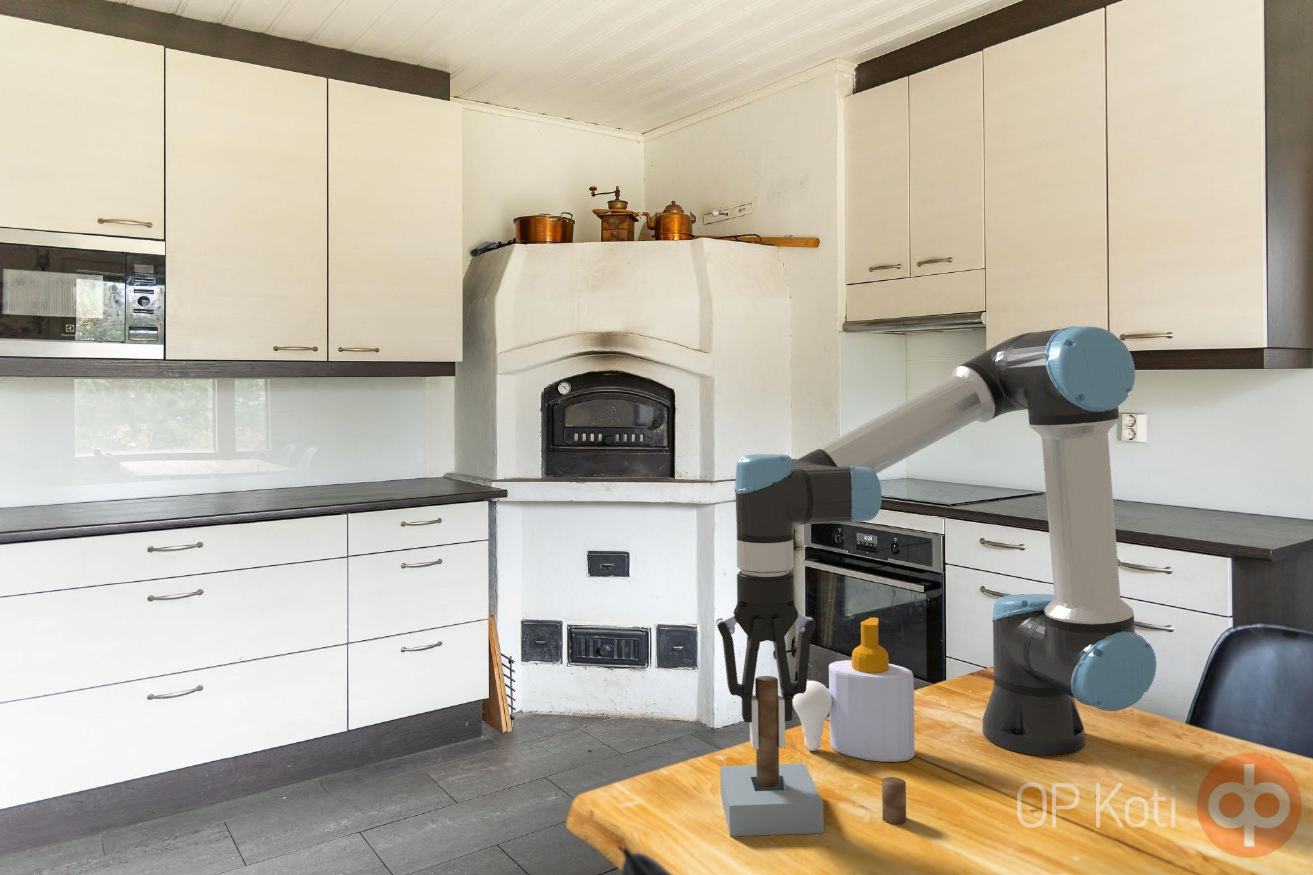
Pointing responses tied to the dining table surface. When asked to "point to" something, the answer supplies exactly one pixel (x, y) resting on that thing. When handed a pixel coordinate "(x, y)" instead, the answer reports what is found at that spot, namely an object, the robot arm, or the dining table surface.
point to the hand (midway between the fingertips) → (767, 744)
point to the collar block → (771, 802)
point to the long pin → (767, 731)
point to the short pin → (894, 800)
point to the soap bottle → (871, 703)
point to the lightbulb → (813, 712)
